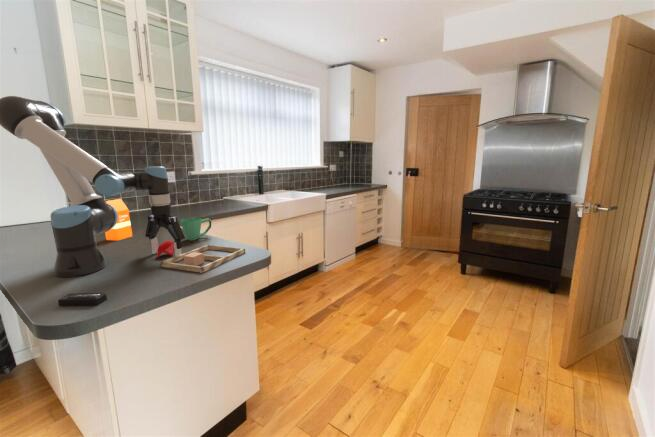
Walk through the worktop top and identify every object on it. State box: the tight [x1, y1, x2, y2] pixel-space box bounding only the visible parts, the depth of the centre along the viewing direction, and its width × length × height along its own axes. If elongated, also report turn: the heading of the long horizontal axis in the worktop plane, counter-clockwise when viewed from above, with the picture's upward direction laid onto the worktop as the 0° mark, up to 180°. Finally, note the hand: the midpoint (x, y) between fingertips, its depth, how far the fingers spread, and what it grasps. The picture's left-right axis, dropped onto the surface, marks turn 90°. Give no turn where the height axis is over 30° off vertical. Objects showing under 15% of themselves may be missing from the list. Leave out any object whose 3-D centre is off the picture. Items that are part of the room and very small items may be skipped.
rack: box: [160, 244, 246, 274], centre depth 127 cm, size 25×20×2 cm
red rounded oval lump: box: [157, 240, 175, 258], centre depth 133 cm, size 8×6×6 cm
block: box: [183, 252, 205, 266], centre depth 122 cm, size 5×5×4 cm
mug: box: [179, 217, 212, 241], centre depth 160 cm, size 15×10×10 cm
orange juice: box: [104, 198, 133, 241], centre depth 163 cm, size 8×9×20 cm
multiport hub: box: [57, 292, 108, 308], centre depth 91 cm, size 4×11×2 cm, turn 90°
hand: (167, 254), depth 134 cm, fingers open, 12 cm apart
